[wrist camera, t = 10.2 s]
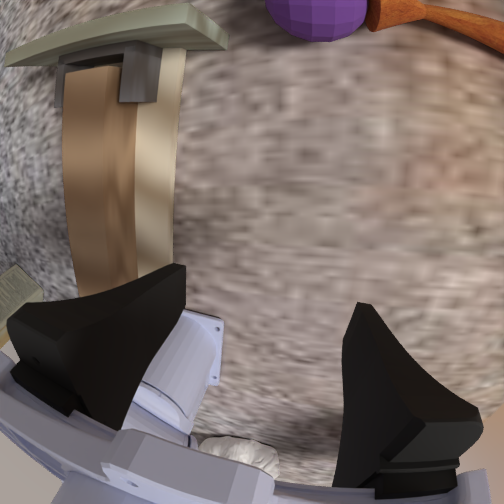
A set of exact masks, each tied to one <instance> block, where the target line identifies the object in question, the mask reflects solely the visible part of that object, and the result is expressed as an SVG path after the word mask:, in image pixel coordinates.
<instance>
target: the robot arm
mask: <svg viewBox="0 0 504 504" xmlns="http://www.w3.org/2000/svg"><path fill="white" fill-rule="evenodd" d="M185 306H186V266H185V265H180V264H176V263H171V264H169V265H166V266H164V267H162V268H159V269H157V270H155V271H153V272H151V273H149V274H146V275H144V276H142V277H140V278H138V279H135V280H133V281H130V282H128V283H126V284H123V285H121V286H118V287H115V288H113V289H110V290H107V291H103V292H100V293H97V294H93V295H88V296H84V297H79V298H75V299H68V300H61V301H51V302H26V303H25V304H24V305H22V306H21V307H20V308H19V309H18V310H17V311H16V312H15V313H13V314H12V315H11V316H10V317H9V318H8V319H7V322H6V327H7V332H8V334H9V337H10V339H11V341H12V344H13V346H14V348H15V350H16V352H17V354H18V356H19V358H20V361H19V362H18V363H17V364H15V363H14V362H13V360H12V359H11V358H9V357H8V356H7V355H6V354H4V353H3V352H2V351H0V431H1V432H2V433H4V434H5V435H6V436H7V437H8V438H9V439H10V440H11V441H12V442H13V443H15V444H16V445H17V446H18V447H19V448H21V449H22V450H23V451H24V452H25V453H26V454H28V455H29V456H30V457H31V458H33V459H34V460H35V461H36V462H38V463H39V464H40V465H42V466H43V467H44V468H46V469H47V470H49V471H50V472H51V473H52V474H54V475H55V476H56V477H58V478H59V479H61V481H62V486H61V487H60V489H59V491H58V492H57V494H56V496H55V497H54V499H53V501H52V502H51V504H492V503H491V496H490V489H489V484H488V478H487V472H486V469H480V470H474V471H469V472H464V473H461V474H459V475H457V476H456V470H455V469H456V468H458V467H459V465H460V463H459V457H460V456H461V455H462V454H463V453H464V452H466V451H467V450H468V449H469V448H470V447H471V446H472V445H473V444H474V443H475V442H476V441H477V440H478V439H479V438H480V436H481V434H482V432H483V428H484V427H483V423H482V420H481V416H480V413H479V410H478V408H477V407H476V406H474V405H472V404H470V403H469V402H467V401H465V400H463V399H462V398H460V397H458V396H457V395H455V394H454V393H452V392H451V391H450V390H448V389H447V388H445V387H444V386H443V385H441V384H440V383H439V382H438V381H437V380H435V379H434V378H433V377H432V376H431V375H429V374H428V373H427V372H426V371H425V370H424V369H423V368H422V367H421V366H420V365H419V364H418V363H417V362H416V361H415V360H414V359H413V358H412V357H411V356H410V355H409V353H408V352H407V351H406V350H405V349H404V348H403V346H402V345H401V344H400V343H399V341H398V340H397V339H396V338H395V336H394V335H393V334H392V332H391V331H390V330H389V328H388V327H387V325H386V324H385V323H384V321H383V320H382V318H381V317H380V316H379V314H378V313H377V311H376V310H375V309H374V307H373V306H372V305H371V304H366V303H361V302H357V304H356V307H355V310H354V312H353V315H352V317H351V320H350V323H349V325H348V328H347V330H346V333H345V335H344V338H343V345H342V378H343V397H344V414H343V424H342V434H341V441H340V448H339V454H338V460H337V465H336V471H335V475H334V479H333V484H332V487H322V486H313V485H304V484H296V483H289V482H282V481H276V480H274V479H273V477H272V476H271V475H270V474H268V473H267V472H265V471H263V470H262V469H260V468H258V467H255V466H252V465H249V464H246V463H243V462H240V461H236V460H232V459H228V458H224V457H220V456H216V455H213V454H209V453H206V452H202V451H199V450H198V444H197V440H196V438H195V437H194V436H193V435H190V432H191V430H192V427H193V425H194V423H193V420H194V418H195V416H196V413H197V411H198V408H199V406H200V404H201V401H202V399H203V397H204V394H205V392H206V390H207V387H208V385H209V384H210V385H214V386H217V385H218V384H219V381H220V368H221V356H222V344H223V332H224V322H223V320H221V319H219V318H215V317H211V316H207V315H203V314H200V313H196V312H192V311H188V310H185V309H184V308H185ZM217 327H219V328H220V329H218V328H217Z"/></svg>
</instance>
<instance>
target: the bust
mask: <svg viewBox="0 0 504 504" xmlns="http://www.w3.org/2000/svg"><path fill="white" fill-rule="evenodd" d="M198 450H199V451H202V452H206V453H209V454H213V455H216V456H220V457H224V458H228V459H232V460H236V461H240V462H243V463H246V464H249V465H252V466H255V467H258V468H260V469H262V470H263V471H265V472H267V473H268V474H270V475H271V476H272V477H273V479H275V478H276V477H277V476H278V475H279V474H280V473H279V467H280V464H279V458H278V454H277V451H276V450H275V449H274V448H273V447H271V446H268V445H264V444H261V443H259V442H257V441H256V440H253V439H251V440H247V439H241V438H234V437H231V436H224V437H213V438H207V439H205V440H204V441H203V442H202V443H201V444H200V446H199V447H198Z"/></svg>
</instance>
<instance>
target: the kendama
mask: <svg viewBox="0 0 504 504" xmlns="http://www.w3.org/2000/svg"><path fill="white" fill-rule="evenodd" d="M265 4H266V8H267V10H268V11H269V13H270V14H271V16H272V18H273V19H274V21H275V23H276V24H278V25H279V26H280V27H282V28H283V29H284V30H286V31H287V32H288V33H290V34H291V35H293V36H296V37H299V38H302V39H305V40H308V41H311V42H332V41H335V40H338V39H341V38H344V37H347V36H349V35H350V34H351V33H352V32H354V31H355V30H356V29H357V28H358V27H359V26H360V25H361V24H362V23H363V22H364V19H365V22H366V25H367V27H368V29H369V31H371V32H376V31H379V30H382V29H386V28H389V27H393V26H396V25H400V24H404V23H407V22H411V21H415V20H420V19H425V20H428V21H431V22H434V23H437V24H439V25H442V26H445V27H447V28H450V29H452V30H455V31H457V32H459V33H462V34H464V35H466V36H469V37H471V38H473V39H475V40H477V41H479V42H481V43H483V44H485V45H487V46H489V47H491V48H493V49H495V50H497V51H499V52H501V53H503V54H504V22H501V21H498V20H494V19H491V18H488V17H484V16H480V15H477V14H473V13H468V12H464V11H460V10H455V9H450V8H445V7H439V6H433V5H426V4H422V3H421V2H419V1H418V0H265Z"/></svg>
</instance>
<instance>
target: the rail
mask: <svg viewBox="0 0 504 504" xmlns="http://www.w3.org/2000/svg"><path fill="white" fill-rule="evenodd" d="M121 76H122V68H120V67H113V66H104V67H97V68H91V69H86V70H80V71H75V72H70V73H66V76H65V86H64V99H63V120H62V163H63V184H64V198H65V209H66V218H67V227H68V235H69V242H70V248H71V255H72V261H73V266H74V272H75V277H76V282H77V287H78V292H79V296H80V297H84V296H88V295H93V294H97V293H100V292H103V291H107V290H110V289H113V288H115V287H118V286H121V285H123V284H126V283H128V282H130V281H133V280H135V279H138V266H137V250H136V230H135V145H136V126H137V111H138V102H119V97H120V86H121Z"/></svg>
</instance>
